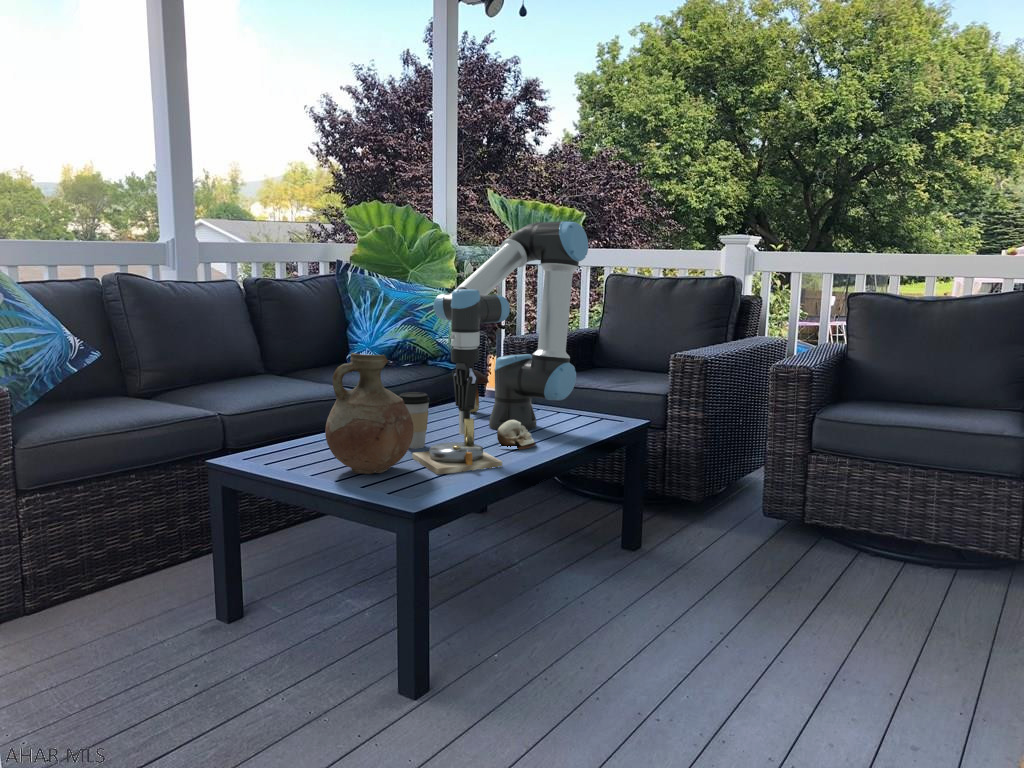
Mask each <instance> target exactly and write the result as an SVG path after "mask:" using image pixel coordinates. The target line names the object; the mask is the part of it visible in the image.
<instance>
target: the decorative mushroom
mask: <svg viewBox="0 0 1024 768" xmlns="http://www.w3.org/2000/svg"><path fill="white" fill-rule="evenodd" d="M474 371H475V376H478V377H479V380H478V383H477V385H480V384H489V383H490V381H489V379H488V377H487V376H486V375H485V374H484V373H482V372H480V371H478V370H475V369H474ZM479 409H480V396H479V389H478V386H477V389H476V397H475V406H474V409H473V410H471V411H470V413H471V412H472V413H471V414H474V413H473V412H475V413H476V412H478V411H479Z"/></svg>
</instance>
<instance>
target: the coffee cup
mask: <svg viewBox="0 0 1024 768" xmlns="http://www.w3.org/2000/svg"><path fill="white" fill-rule="evenodd" d="M398 396H399V397H400V398H402V399H403V401H404V404H405V405H406V407H407V408H408V410H409V413H410V415H411V418H412V421H413V426H414V432H413V439H412V442H411V444H410V447H409V449H414V450H415V449H416V450H417V449H422V448H424V447H425V446H426V435H427V430H428V421H429V405H430V403H431V400H430V397H429V396H428V394H427V393H426V392H417V391H416V392H415V391H412V392H410V391H409V392H402V393H400V394H399V395H398Z"/></svg>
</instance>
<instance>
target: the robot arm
mask: <svg viewBox="0 0 1024 768" xmlns="http://www.w3.org/2000/svg"><path fill="white" fill-rule="evenodd" d="M588 239H589V238H588V236H587V233H586V231H585V229H584V227H583V226H582V225H581V224H579V223H578V222H576V221H565V220H563V221H546V222H545V221H544V222H542V221H540V222H533V223H529V224H526V225H525V226H523V227H521V228H519V229H518V230H517V231H515V232H513V233H512V234H511V235H509V236H508V237H507V238H506V239H505V240H503V241H502V242H501V245H500V248H499V249H498V250H497V251H496V252H495V253H494V254H493V255H491V256H490V257H489V258H488V259H487V260H486V261H485V262H484V263H483V264H482V265H481V266H480V267H478V269H476V270H475V271H474V272H473V273H471V274H470V276H468V277H467V278H466V279H465V280H464V281H463V282H462V283H461V284H459V285H458V286H457V287H456V288H455V289H454V290H453V291H451V292H450V293H448V292H445V293H440V294H438V295H437V296H436V297H435V299H434V301H433V306H432V307H433V311H434V314H435V316H436V317H437V318H438V319H440V320H443V321H444V320H446V321H448V322H449V321H450V322H451V329H450V331H451V332H450V333H451V335H449V339H450V340H451V342H450V343H451V346H452V348H451V349H450V361H451V362H452V363H453V364H454V363H455V364H456V365H455V370H452V371H451V374H452V378H453V389H454V401H455V406H456V407H457V409H458V413H459V414H458V420H459V421H458V429H459V430H458V434H459V435H461V436H464V419H465V418H471V412H470V411H471V410H473V409H474V406H475V397H476V389H477V387H478V384H477V383H478V380H479V377H478V376H475V371H474V370H475V366H474V365H475V364H477V363H479V362H480V349H479V348H478V347H479V346H480V344H481V343H480V340H481V339H480V337H481V336H480V335H481V334H480V333H481V331H480V325H481V324H497V323H500V322H504V321H505V320H507V318H508V317H509V315H510V313H511V311H510V309H511V308H510V303H509V300H507V298H506V297H504V296H503V295H497V294H496V295H494V294H493V295H489V294H490V293H491V292H492V291H493V290H494V289H496V288H497V286H498V285H499V284H501V283H502V282H503V281H504V280H505V279H507V277H509V275H510V274H512V272H514V271H515V270H516V269H517V268H523V266H525V265H526V264H527V263H529V262H534V261H540V266H541V267H542V269H543V270H544V276H543V278H544V279H543V289H542V299H541V309H540V311H541V312H540V321H539V331H538V342H537V349H536V350H535V351H534V352H533V353H532V354H530V353H525V354H522V353H520V354H511V355H504V356H503V355H502V356H499V357H497V358H496V359H495V365H494V404H493V407H492V411H491V413H490V417H489V422H488V424H489V428H491V429H492V430H493V429H494V430H496V431H498V428H499V427H500V426H501V425H502V424H503V423H505V422H506V421H508V420H516V421H519V422H521V425H522V426H525V428H526V430H528V431H530V430H529V429H531V430H534V429H536V428H537V418H536V414H535V412H534V409H533V405H532V398H535V399H542V400H544V399H545V400H548V401H563V400H565V399H567V398H568V396H569V395H570V394H571V393H572V391H573V390H574V388H575V384H576V380H577V371H576V368H575V366H574V365H573V364H572V363H570V360H571V357H570V355H569V354H568V353H567V341H568V339H567V338H568V330H569V329H568V328H569V318H570V309H571V308H570V307H571V296H572V286H573V275H574V272H575V271H576V270H578V269H579V265H580V262H582V261H583V260H584V259H586V258H587V257H586V256H587V255H588V253H589V241H588Z"/></svg>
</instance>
